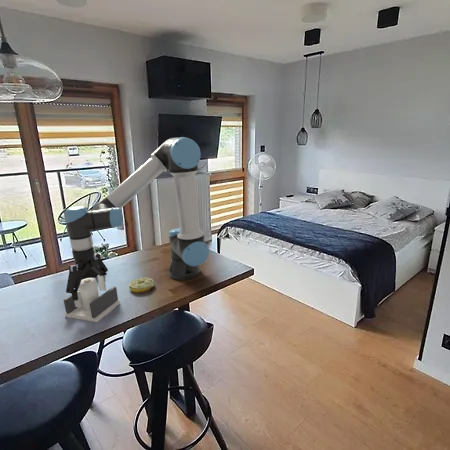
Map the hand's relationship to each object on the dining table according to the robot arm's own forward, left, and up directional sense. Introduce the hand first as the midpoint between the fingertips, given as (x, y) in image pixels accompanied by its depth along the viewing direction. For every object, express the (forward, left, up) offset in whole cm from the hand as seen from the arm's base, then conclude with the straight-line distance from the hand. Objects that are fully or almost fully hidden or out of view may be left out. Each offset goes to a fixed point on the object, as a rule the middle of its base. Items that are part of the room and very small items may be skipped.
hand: (91, 298), depth 125 cm
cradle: (0, 0, -5) cm, 5 cm away
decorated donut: (-9, -21, -6) cm, 24 cm away
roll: (0, 0, -4) cm, 4 cm away
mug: (+24, -27, -5) cm, 37 cm away
